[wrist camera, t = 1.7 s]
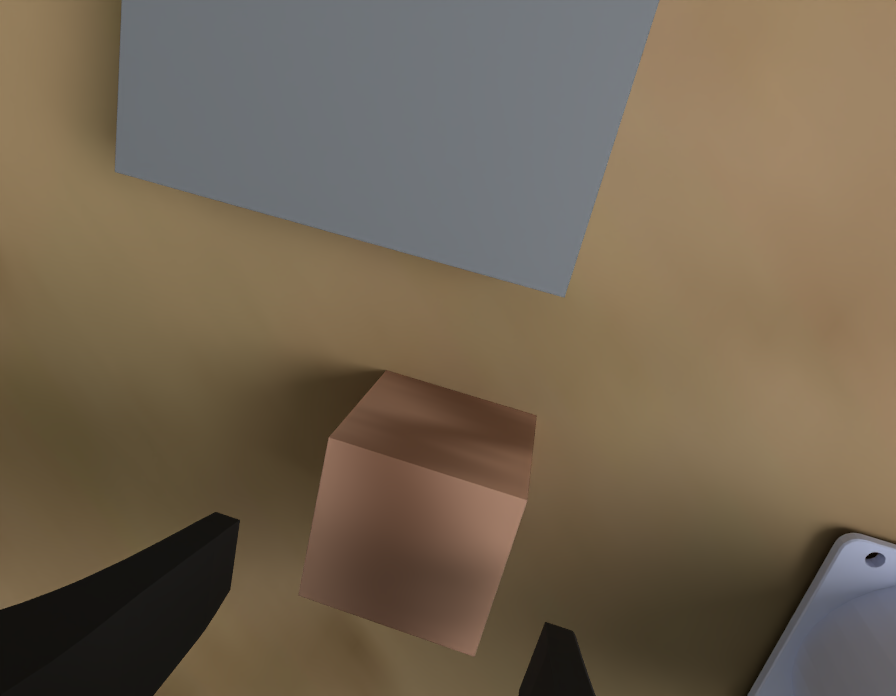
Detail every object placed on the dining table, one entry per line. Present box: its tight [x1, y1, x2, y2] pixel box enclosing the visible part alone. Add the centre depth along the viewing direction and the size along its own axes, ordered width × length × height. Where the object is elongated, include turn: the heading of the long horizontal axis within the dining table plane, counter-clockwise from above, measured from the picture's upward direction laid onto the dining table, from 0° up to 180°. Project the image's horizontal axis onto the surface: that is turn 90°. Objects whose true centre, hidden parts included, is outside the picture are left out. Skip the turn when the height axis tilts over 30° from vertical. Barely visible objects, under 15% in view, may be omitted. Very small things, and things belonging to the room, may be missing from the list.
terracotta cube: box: [299, 370, 537, 657], centre depth 17 cm, size 5×5×5 cm
